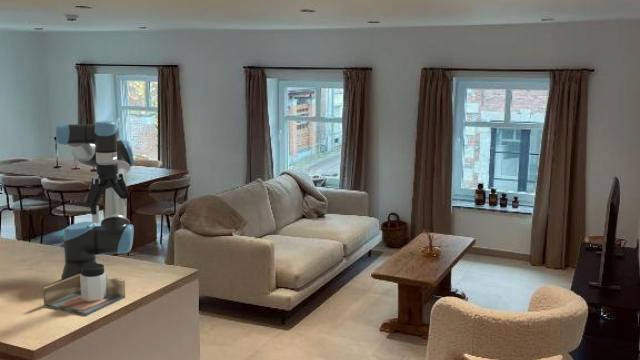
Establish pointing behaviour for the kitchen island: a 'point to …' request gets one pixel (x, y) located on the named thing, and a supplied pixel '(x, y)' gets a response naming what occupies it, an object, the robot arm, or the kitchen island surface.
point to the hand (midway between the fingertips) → (109, 218)
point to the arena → (69, 295)
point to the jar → (93, 282)
